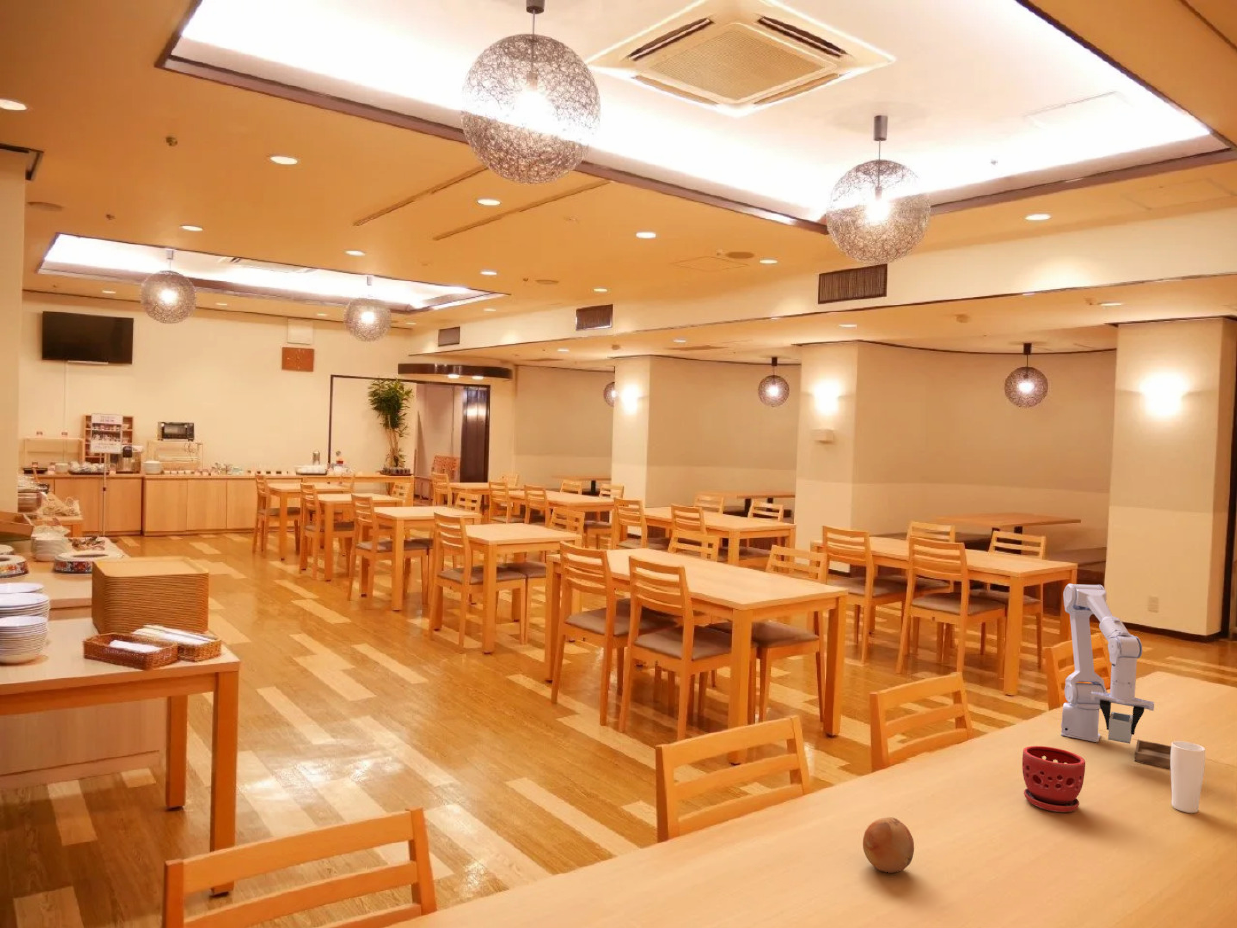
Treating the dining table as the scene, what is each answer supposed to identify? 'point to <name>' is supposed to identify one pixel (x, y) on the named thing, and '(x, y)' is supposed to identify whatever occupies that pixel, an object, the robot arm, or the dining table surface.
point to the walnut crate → (1152, 753)
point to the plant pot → (1052, 778)
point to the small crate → (1120, 727)
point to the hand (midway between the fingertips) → (1120, 731)
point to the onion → (888, 845)
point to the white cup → (1186, 775)
